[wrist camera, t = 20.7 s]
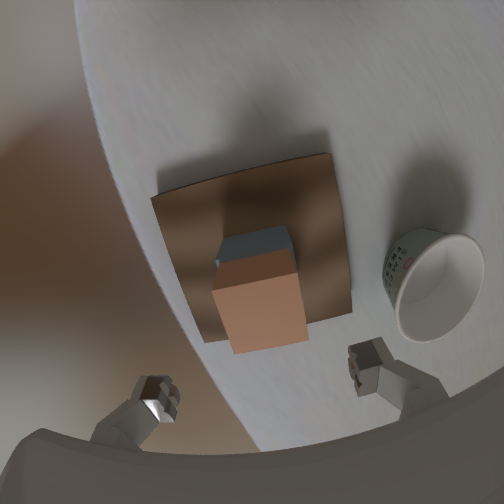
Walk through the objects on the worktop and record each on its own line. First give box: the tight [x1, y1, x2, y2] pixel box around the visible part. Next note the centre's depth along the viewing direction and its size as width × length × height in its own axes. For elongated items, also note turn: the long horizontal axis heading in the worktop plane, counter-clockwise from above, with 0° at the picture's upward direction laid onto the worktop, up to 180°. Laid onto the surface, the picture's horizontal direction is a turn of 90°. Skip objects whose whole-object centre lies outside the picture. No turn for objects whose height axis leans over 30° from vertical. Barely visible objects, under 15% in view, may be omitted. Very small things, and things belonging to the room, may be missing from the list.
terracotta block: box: [211, 248, 309, 354], centre depth 18 cm, size 5×5×4 cm
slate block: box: [215, 225, 304, 307], centre depth 22 cm, size 6×6×5 cm
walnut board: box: [151, 153, 352, 343], centre depth 26 cm, size 16×16×2 cm
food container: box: [382, 228, 485, 343], centre depth 24 cm, size 12×12×7 cm
